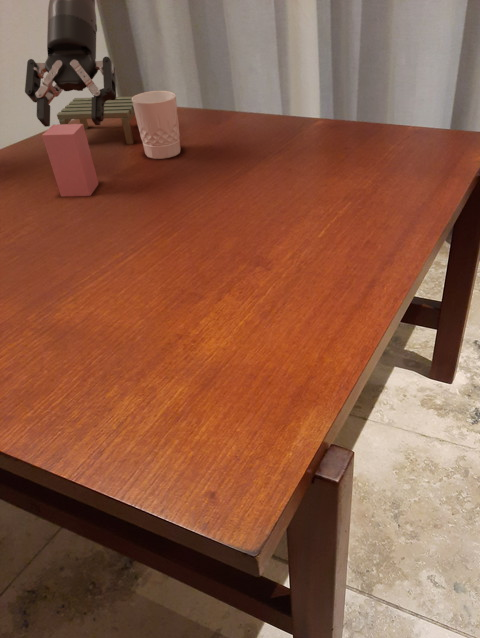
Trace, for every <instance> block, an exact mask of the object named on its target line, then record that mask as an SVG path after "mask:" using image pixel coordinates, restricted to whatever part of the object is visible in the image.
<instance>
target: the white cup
mask: <svg viewBox="0 0 480 638" xmlns="http://www.w3.org/2000/svg"><path fill="white" fill-rule="evenodd" d="M133 96H134V97H132V103H133V107H134V112H135V115H134V117H135V120H136V124H137V128H138V131H139V136H140V139H141V142H142V146H143V150H144V154H145V156H146V157H147V158H150V159H155V160H157V159H158V160H164V159H170V158H173V157H176V156H178V155H179V154H180V153H181V150H182V148H181V140H180V134H181V133H180V125H179V124H180V123H179V113H178V105H177V95H176V93H174V92H172V91H168V90H152V91H145V92H141V93H137V94H135V95H133Z"/></svg>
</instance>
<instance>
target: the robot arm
mask: <svg viewBox="0 0 480 638" xmlns="http://www.w3.org/2000/svg"><path fill="white" fill-rule="evenodd" d="M97 32H98V24H97V13H96V0H49V1H48V8H47V32H46V33H47V37H46V38H47V41H46V51H47V57H46V60H45V62H36V61H35V60H34V59H33V58H29V59H28V60H27V62H26V73H25V86H24V93H25V95H27V97H28V98H29V99H30V100H31V101H32V102H33V103H36V118H37V120H38V121H39V123H41V124H42V126H43V127H51V105H50V103H52V101H53V100H54V99H55V98H56V97H57V98H58V97H59V96H60V94H61V93H62V92H63V91H64V92H71V91H78V92H83V91H84V90H85V89H86V88H87V89H88V91H89V92H90V93H91V94H92V97H91V98H92V107H91V118H92V119H91V121H92V123H93V124H94V125H95V126H101V123H102V122H104V120H105V118H104V103H105V102H106V101H107V100H109V99H111V100H115V99H116V97H117V80H116V79H117V78H116V67H115V65H114V63H113V62H112V60H111V58H110V57H109V56H104V57H102V60H97ZM98 72H100V73H101V75H102V76H103V77H102V78H103V79H102V80H103V88H100V89H99V87H98V86H97V85H96V84H95V82H94V81H93V79H94V78H95V76H96V75H97V74H98ZM45 73H47V74H46V75H45ZM44 75H45V77H44ZM41 83H42V84H41ZM53 83H55V84H54V85H53Z"/></svg>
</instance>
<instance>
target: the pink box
mask: <svg viewBox="0 0 480 638" xmlns="http://www.w3.org/2000/svg"><path fill="white" fill-rule="evenodd" d="M41 136H42V140H43V143H44V146H45V149H46V152H47V155H48V159H49V162H50V165H51V166H50V167H51V168H52V172H53V175H54V178H55V182H56V185H57V189H58V191H59V194H60V197H91V196H92V194H93V193H94V192H95V190H96V189H97V188H98V186H99V179H98V176H97V173H96V168H95V165H94V161H93V157H92V153H91V150H90V145H89V141H88V138H87V133H86V129H84V125H83V124H80V123H68V124H61V125H60V124H52V125H50V126H49V128H48V129H47V130H46V131H44V133H43V134H41Z"/></svg>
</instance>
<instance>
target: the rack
mask: <svg viewBox="0 0 480 638" xmlns="http://www.w3.org/2000/svg"><path fill="white" fill-rule="evenodd" d="M134 96H135V95H133V96H116V99H115V100H111V99H109V100H107V101H106V102H105V103H104V119H120V120H121V123H122V129H123V132H124V138H125V142H126V145H133V144H134V143H135V141H134V136H133V131H132V125H131V121H132V120H133V118H134V117H135V112H134V107H133V103H132V97H134ZM91 107H92V97H74V98H73V99H72V101H70V102H69V103H68V104H66V105H65V107H64V108H62V109H61V110H60V111H59V112H58V113H57V114H56V117H57V120H58V121H59V125H61V124H70V122H71V121H72V120H79V124H83V125H84V129H85V130H87V129H89V123H88V120H92V118H91Z"/></svg>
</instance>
